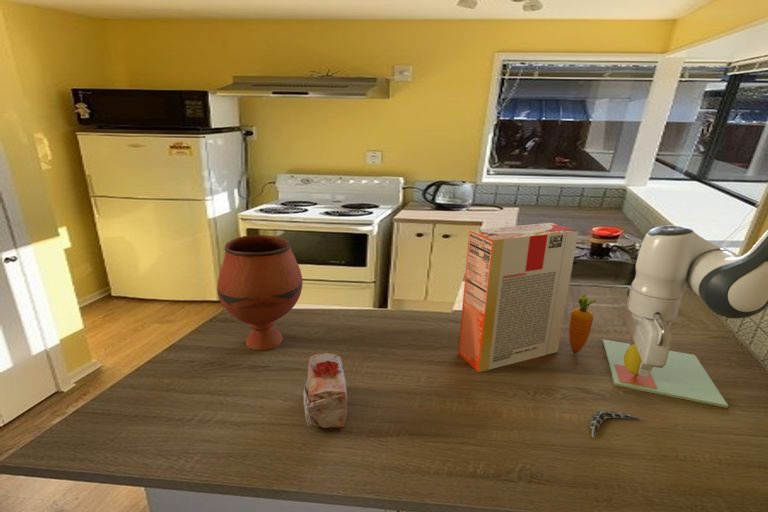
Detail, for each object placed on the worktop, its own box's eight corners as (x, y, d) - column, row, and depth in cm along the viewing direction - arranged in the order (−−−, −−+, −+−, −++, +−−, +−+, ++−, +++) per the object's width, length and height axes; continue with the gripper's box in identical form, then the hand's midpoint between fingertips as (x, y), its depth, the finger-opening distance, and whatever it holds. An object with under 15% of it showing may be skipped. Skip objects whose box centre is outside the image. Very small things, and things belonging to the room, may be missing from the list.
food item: (351, 432, 74) (351, 383, 71) (304, 437, 72) (302, 388, 69) (342, 385, 87) (342, 342, 84) (303, 389, 85) (301, 346, 82)
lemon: (622, 365, 95) (629, 334, 93) (650, 374, 92) (659, 342, 90) (618, 377, 91) (626, 344, 89) (648, 386, 88) (657, 352, 85)
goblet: (256, 373, 90) (248, 262, 82) (206, 344, 101) (194, 243, 93) (321, 339, 104) (319, 242, 97) (271, 316, 115) (265, 227, 108)
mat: (694, 357, 101) (695, 354, 101) (727, 408, 83) (728, 405, 83) (602, 341, 107) (602, 338, 107) (614, 385, 89) (615, 382, 89)
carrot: (568, 345, 105) (579, 289, 100) (589, 353, 101) (601, 295, 97) (560, 352, 101) (570, 295, 97) (581, 361, 98) (592, 301, 93)
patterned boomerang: (620, 401, 83) (644, 418, 79) (620, 404, 83) (643, 421, 79) (572, 416, 78) (594, 436, 74) (571, 420, 78) (593, 439, 74)
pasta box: (533, 336, 109) (550, 222, 99) (557, 351, 102) (578, 230, 92) (458, 354, 100) (469, 230, 90) (478, 372, 93) (493, 240, 83)
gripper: (686, 329, 76) (668, 394, 80) (658, 288, 94) (644, 343, 99) (646, 323, 78) (630, 387, 82) (626, 284, 96) (614, 338, 101)
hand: (638, 363), depth 91 cm, fingers open, 8 cm apart
